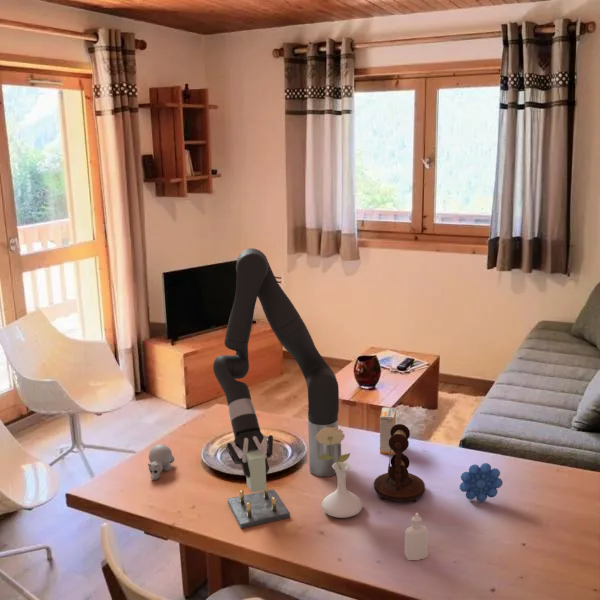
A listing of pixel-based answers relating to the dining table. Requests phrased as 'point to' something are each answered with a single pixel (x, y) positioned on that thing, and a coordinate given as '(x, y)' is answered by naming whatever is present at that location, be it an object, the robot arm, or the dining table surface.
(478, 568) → the dining table surface
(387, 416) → the supplement box
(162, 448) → the round bodied animal figurine
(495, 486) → the blue ball cluster
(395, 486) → the wooden spool stand
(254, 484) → the block
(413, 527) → the eye dropper bottle
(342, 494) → the flower in vase
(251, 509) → the grey gold peg board
